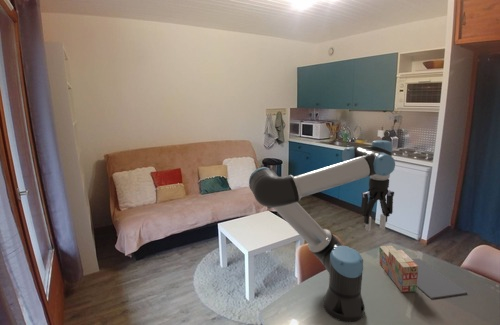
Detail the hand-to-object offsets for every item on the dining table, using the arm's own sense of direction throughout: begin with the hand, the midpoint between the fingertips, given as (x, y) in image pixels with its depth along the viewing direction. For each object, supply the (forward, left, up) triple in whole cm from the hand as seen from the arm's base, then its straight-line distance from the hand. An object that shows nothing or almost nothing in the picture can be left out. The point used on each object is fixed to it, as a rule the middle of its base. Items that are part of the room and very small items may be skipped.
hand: (374, 229), depth 117 cm
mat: (+26, -2, -25) cm, 36 cm away
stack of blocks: (+13, 0, -25) cm, 28 cm away
